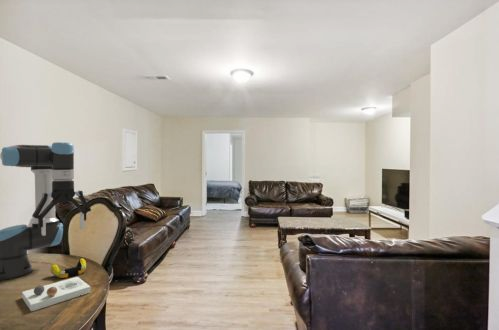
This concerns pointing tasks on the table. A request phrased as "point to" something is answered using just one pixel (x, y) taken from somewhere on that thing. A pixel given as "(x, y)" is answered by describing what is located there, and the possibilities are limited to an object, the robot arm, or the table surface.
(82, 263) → the gaming controller
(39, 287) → the ball
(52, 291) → the wood ball
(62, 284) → the plate
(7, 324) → the table surface
